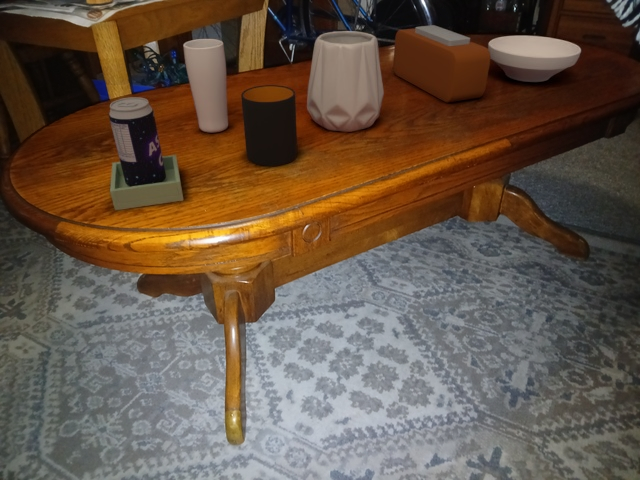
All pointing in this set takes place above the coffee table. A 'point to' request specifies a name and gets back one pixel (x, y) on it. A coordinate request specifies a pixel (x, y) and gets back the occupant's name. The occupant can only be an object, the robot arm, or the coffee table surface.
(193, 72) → the drinking glass
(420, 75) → the brown rounded block
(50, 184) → the coffee table surface
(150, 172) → the beverage can
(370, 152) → the coffee table surface
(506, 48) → the bowl
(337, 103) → the vase
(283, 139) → the mug
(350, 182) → the coffee table surface
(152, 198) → the tray
